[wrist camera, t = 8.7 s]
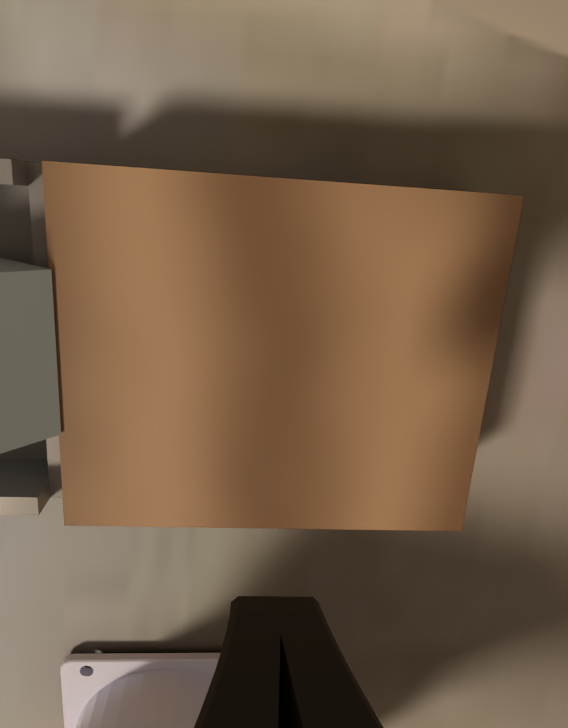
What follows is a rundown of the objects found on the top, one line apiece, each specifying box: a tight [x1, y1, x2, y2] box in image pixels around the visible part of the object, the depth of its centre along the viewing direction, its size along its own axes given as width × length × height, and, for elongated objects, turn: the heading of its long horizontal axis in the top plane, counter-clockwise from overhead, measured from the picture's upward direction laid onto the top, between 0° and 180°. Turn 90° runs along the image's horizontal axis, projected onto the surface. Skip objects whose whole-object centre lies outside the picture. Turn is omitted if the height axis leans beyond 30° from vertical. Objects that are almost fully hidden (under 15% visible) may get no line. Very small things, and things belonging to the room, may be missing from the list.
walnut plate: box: [42, 161, 524, 531], centre depth 16 cm, size 12×10×4 cm
